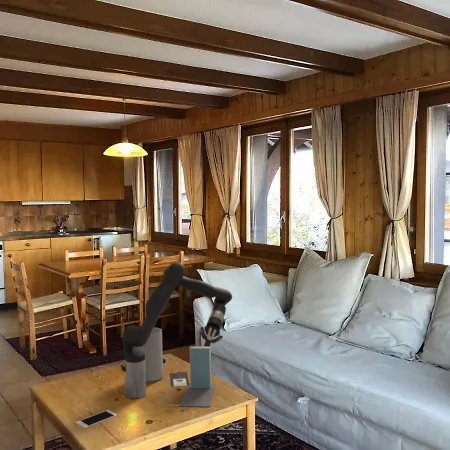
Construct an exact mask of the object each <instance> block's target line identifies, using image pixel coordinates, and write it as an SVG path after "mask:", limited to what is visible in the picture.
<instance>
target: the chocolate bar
mask: <svg viewBox="0 0 450 450" xmlns="http://www.w3.org/2000/svg"><path fill="white" fill-rule="evenodd" d="M188 375H189V374H188V371H182V372H179V371H178V372H170V373H169V377H170V387H181V386H182V387H183V386H187V385H189V383H190V382H189V376H188Z"/></svg>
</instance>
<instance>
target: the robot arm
mask: <svg viewBox="0 0 450 450" xmlns="http://www.w3.org/2000/svg"><path fill="white" fill-rule="evenodd" d="M185 273H186V269H185V266H184V264H183V263H181V262H179V261H177V262H173V263H171V264H170V265H169V266H168V267H166V269H165V270H164V271H163V280H162V281H161V282H160V283H159V284H158V286H156V288H155V289H154V290H153V291H152V292H151V294H150V296H149V297H148V298H147V300H146V302H145V308H144V309H145V310H144V311H145V319H144V320H143V323H142V324H141V325H140V326H135V325H127V326H126V327H125V328H124V330H123V332H122V347H123V356H124V357H125V376H124V378H123V379H124V397H127V398H128V399H130V400H131V399H132V400H135V399H140V398H143V397H145V396H146V395H147V382H146V372H145V354H144V352H143V351H141V350H140V349H139V348H138V347H142V346H144V345H145V344H146V342H147V340H148V338H149V336H150V334H151V332H152V330H153V328H155V326H156V323H157V322H158V319H159V317H160V316H161V314H162V313H163V311H164V309H165V308H166V306H167V305H168V302H169V300H170V299H171V297H172V294H173V292H174V290H175V289H176V287H177V286H179V287H180V288H181V287H182V288H185V289H187V290H190V291H192V292H195V293H198V294H199V295H201V296H203V297H205V298H207V299H214V300H213V307H212V310H211V312H210V314H209V316H208V319H207V323H206V325H205V326H204V327H203V326H201V327H199V333H200V336H201V338H202V339H203V340H204V343H203V347H210V348H211V344H215V343H217V342H220V341H221V340H223V337H224V336H223V335H221V328H222V325H223V322H224V319H225V315H226V311H227V308H226V306H227V304H229V303H230V301H232V299H233V295H232V293H231V292H230V291H229V290H227V288H226V289H225V288H222V287H218V286H214V285H212V284H209V283H208V282H206V281H203V280H199V279H195V278H189V277H186V276H185Z"/></svg>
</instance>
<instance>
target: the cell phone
mask: <svg viewBox="0 0 450 450" xmlns="http://www.w3.org/2000/svg"><path fill="white" fill-rule="evenodd" d="M117 416H118V414H117V413H115V412H114V411H111V410H110V409H105V410H104V411H101V412H98V413H95V414H93V415H90V416H88V417H85V418H83V419H80V420H78V421H75V423H76V424H77V425H78V426H80V427H82V428H83V429H86V428H89V427H92V426H95V425H97V424H99V423H101V422H105V421H107V420H109V419H112V418H114V417H117Z"/></svg>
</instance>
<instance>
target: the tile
mask: <svg viewBox="0 0 450 450" xmlns="http://www.w3.org/2000/svg"><path fill="white" fill-rule="evenodd" d="M211 358H212V355H211V346H210V347H205V346H189V366H190V367H189V371H190V372H189V374H190V375H189V376H190V382H189V383H190V384H191V388H211V384H212V365H211V364H212V362H211V361H212V360H211Z"/></svg>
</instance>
